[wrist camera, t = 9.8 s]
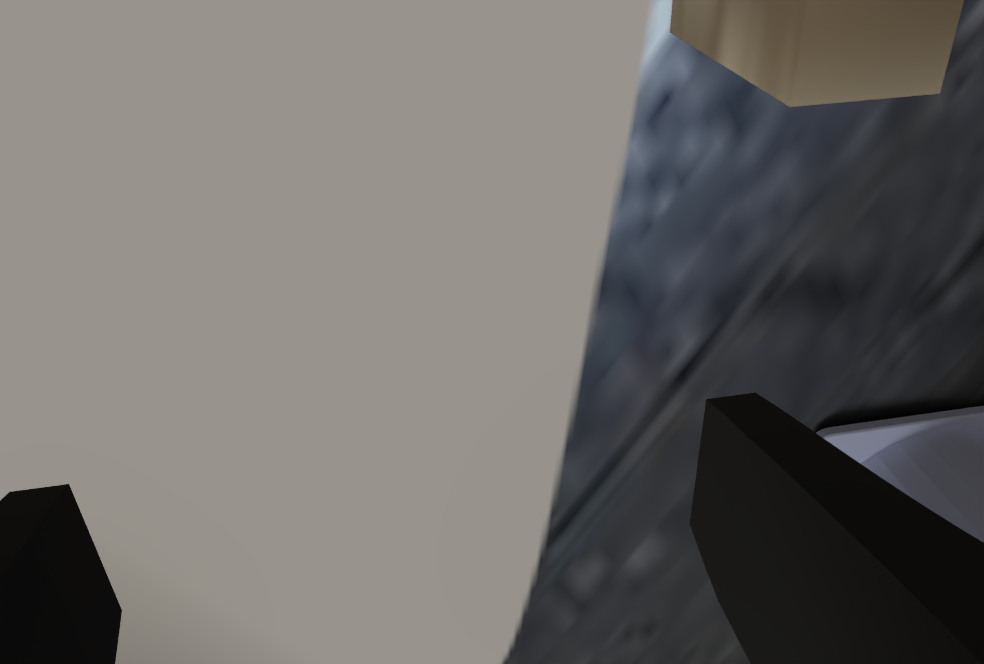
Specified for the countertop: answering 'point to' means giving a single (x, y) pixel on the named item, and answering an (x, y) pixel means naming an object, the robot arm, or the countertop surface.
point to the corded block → (825, 45)
